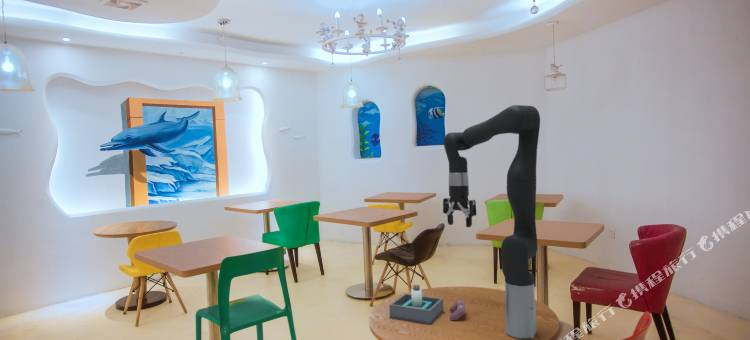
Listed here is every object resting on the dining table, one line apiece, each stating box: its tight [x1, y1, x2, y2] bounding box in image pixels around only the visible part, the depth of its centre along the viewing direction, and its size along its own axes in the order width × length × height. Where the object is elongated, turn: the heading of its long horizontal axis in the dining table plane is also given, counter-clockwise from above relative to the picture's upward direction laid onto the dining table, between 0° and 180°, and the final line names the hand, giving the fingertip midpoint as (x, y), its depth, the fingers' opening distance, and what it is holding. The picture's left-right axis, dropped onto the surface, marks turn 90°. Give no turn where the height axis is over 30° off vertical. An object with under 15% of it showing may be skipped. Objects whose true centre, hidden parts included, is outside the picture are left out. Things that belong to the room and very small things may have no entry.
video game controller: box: [449, 299, 467, 322], centre depth 164 cm, size 10×5×7 cm, turn 170°
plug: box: [410, 284, 423, 308], centre depth 167 cm, size 4×4×10 cm
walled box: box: [388, 293, 445, 326], centre depth 167 cm, size 16×14×5 cm
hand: (459, 225), depth 172 cm, fingers open, 8 cm apart
